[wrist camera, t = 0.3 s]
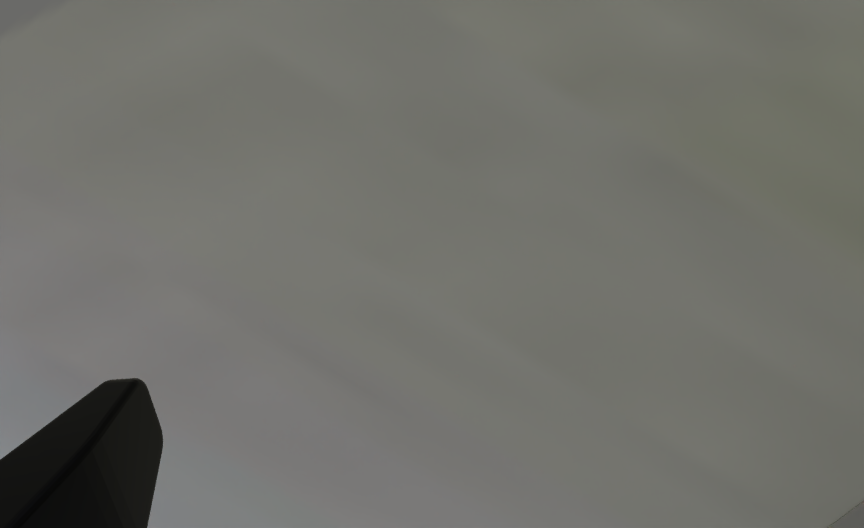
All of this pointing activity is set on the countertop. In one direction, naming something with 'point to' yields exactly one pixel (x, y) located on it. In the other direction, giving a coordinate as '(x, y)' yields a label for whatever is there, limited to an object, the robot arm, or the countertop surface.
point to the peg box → (851, 518)
